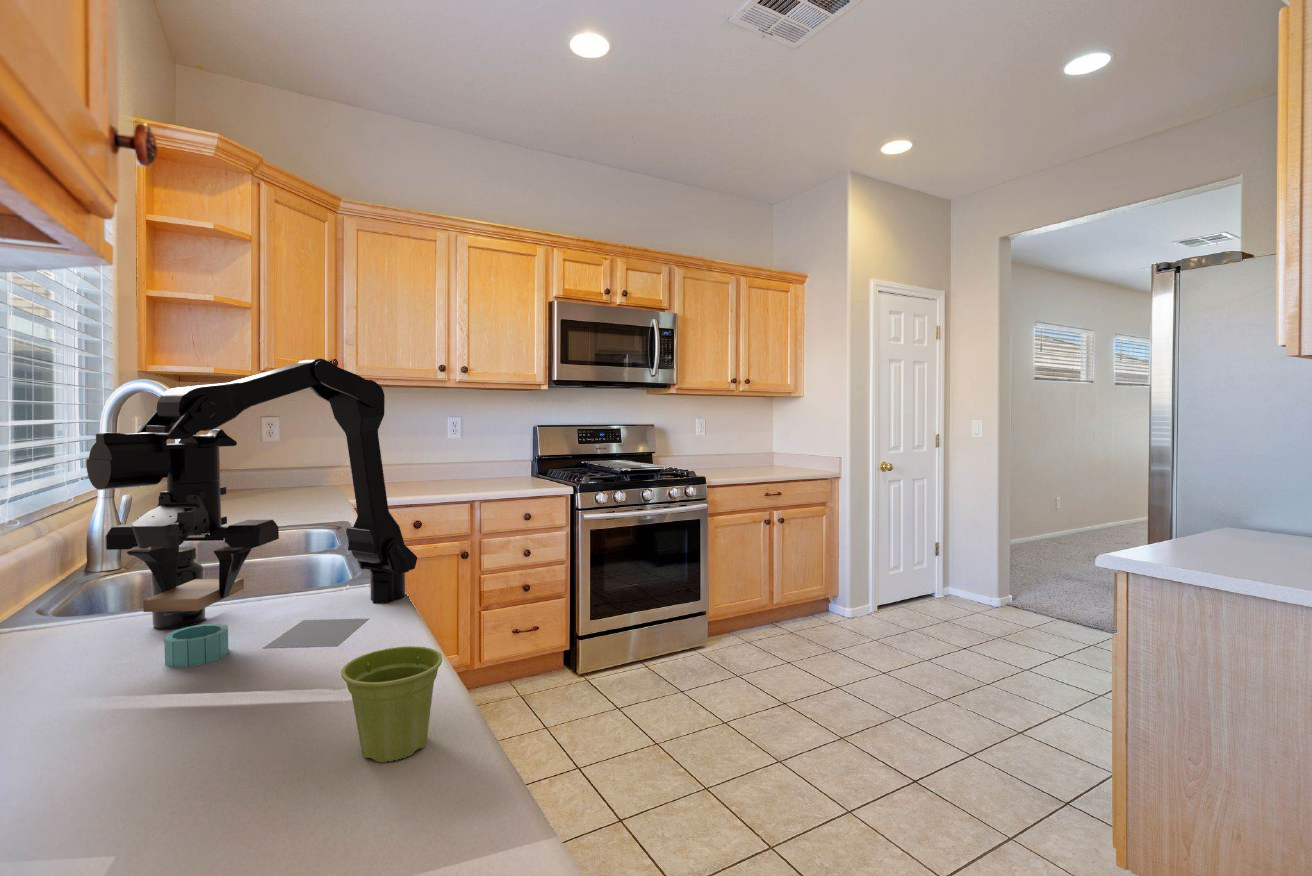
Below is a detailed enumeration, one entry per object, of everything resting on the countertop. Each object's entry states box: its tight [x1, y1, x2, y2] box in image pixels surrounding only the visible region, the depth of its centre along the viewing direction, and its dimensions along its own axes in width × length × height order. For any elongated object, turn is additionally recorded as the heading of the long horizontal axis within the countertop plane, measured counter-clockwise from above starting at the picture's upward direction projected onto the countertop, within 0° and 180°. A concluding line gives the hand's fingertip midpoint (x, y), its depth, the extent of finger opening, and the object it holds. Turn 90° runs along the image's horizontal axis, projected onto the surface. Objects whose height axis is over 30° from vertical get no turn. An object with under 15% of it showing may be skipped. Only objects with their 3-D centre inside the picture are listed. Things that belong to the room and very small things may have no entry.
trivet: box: [262, 618, 369, 649], centre depth 93 cm, size 12×10×1 cm
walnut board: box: [142, 577, 245, 613], centre depth 83 cm, size 10×6×2 cm, turn 5°
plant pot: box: [340, 645, 443, 763], centre depth 63 cm, size 9×9×9 cm
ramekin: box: [163, 623, 229, 668], centre depth 84 cm, size 7×7×4 cm
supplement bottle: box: [150, 546, 206, 630], centre depth 101 cm, size 7×7×12 cm
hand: (197, 598), depth 84 cm, fingers closed on walnut board, 6 cm apart
